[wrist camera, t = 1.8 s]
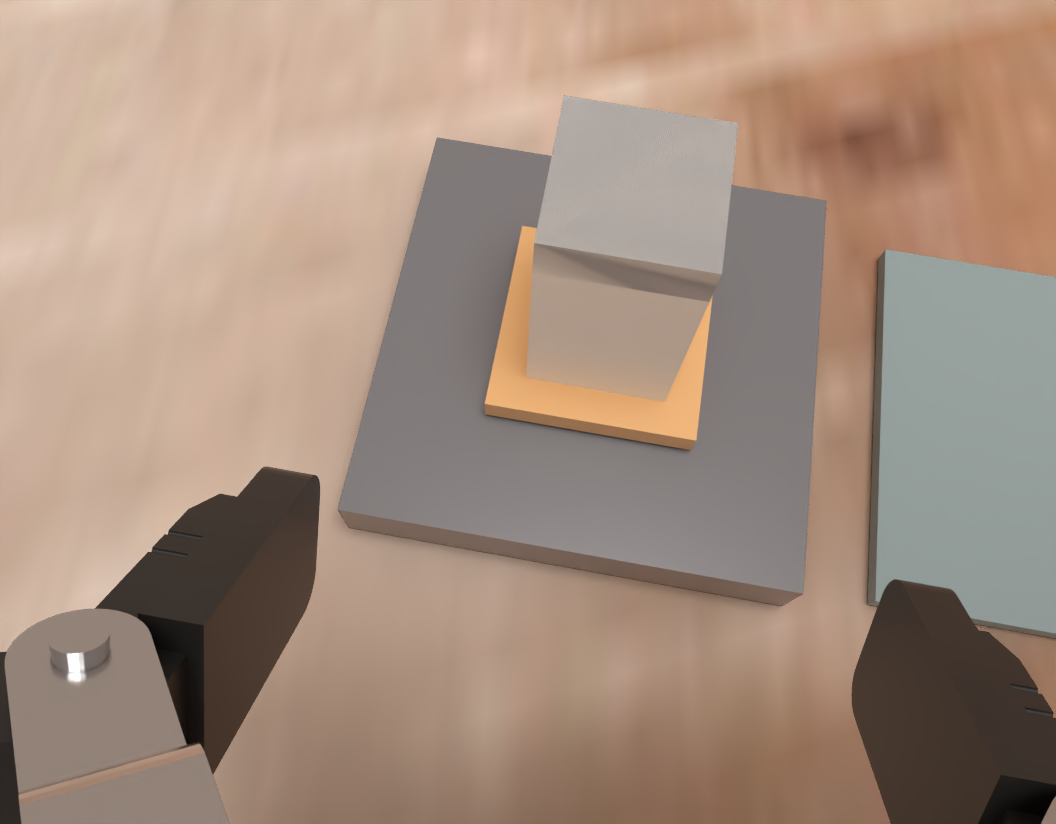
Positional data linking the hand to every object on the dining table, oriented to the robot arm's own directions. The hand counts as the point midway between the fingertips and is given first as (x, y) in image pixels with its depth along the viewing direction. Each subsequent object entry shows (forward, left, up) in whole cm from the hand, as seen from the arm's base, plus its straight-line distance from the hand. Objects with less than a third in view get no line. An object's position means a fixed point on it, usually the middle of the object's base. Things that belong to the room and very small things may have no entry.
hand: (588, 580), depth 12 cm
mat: (-15, -10, -14) cm, 22 cm away
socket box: (0, -10, -14) cm, 17 cm away
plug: (0, -10, -14) cm, 17 cm away
